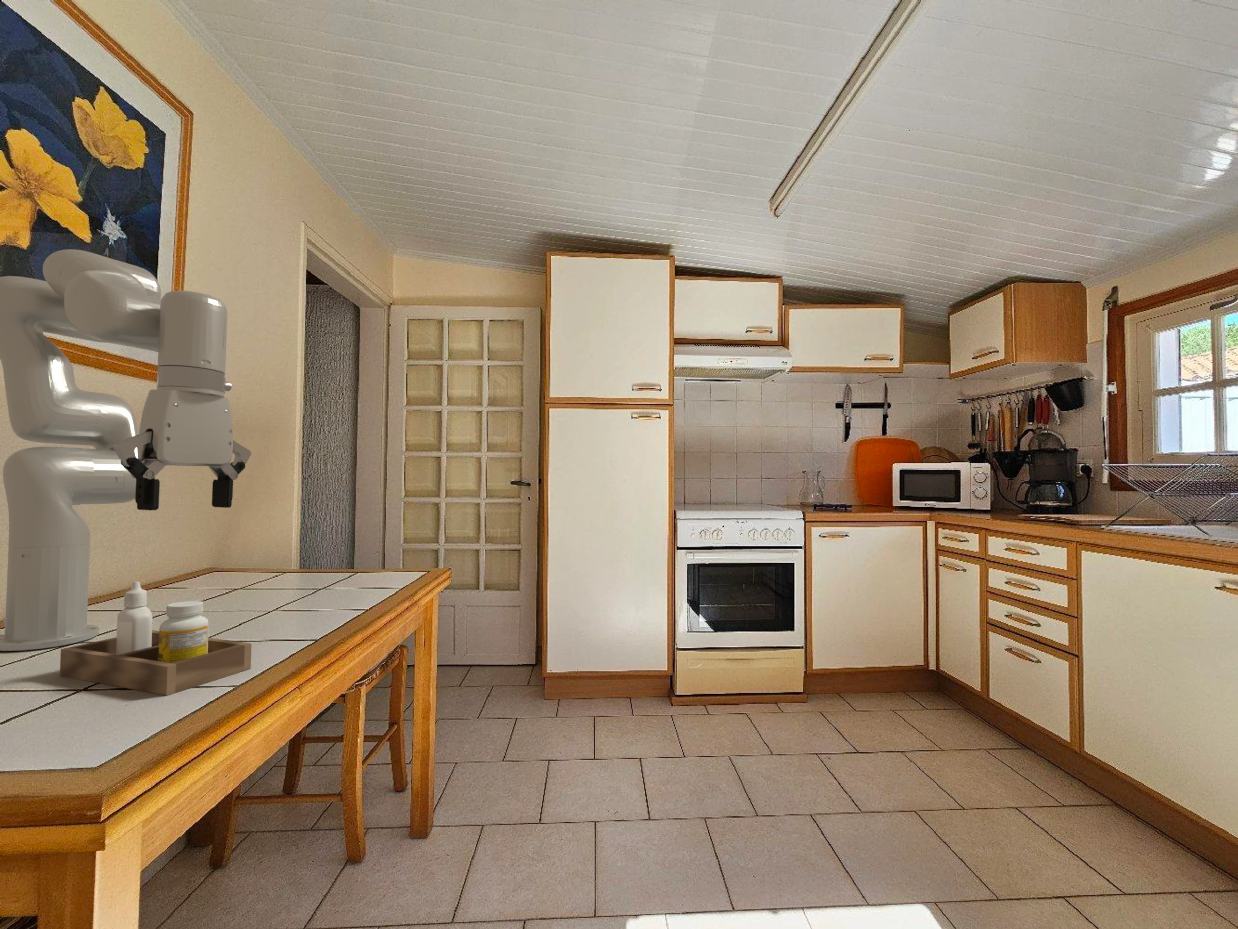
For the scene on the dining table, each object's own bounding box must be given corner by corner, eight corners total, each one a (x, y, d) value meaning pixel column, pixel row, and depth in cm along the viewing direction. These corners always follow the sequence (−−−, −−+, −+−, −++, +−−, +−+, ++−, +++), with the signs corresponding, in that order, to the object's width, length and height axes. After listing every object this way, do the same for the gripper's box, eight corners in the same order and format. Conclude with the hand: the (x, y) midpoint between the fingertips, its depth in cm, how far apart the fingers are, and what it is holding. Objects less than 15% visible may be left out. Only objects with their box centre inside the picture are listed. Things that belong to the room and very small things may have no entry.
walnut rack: (59, 675, 77) (60, 649, 77) (149, 653, 88) (150, 629, 88) (166, 695, 70) (167, 666, 70) (250, 668, 81) (251, 643, 81)
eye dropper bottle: (106, 676, 77) (110, 586, 78) (118, 664, 82) (121, 580, 82) (148, 671, 79) (151, 583, 80) (157, 660, 84) (160, 577, 85)
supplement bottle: (203, 678, 77) (205, 605, 77) (152, 684, 74) (155, 609, 74) (210, 667, 81) (212, 598, 82) (162, 672, 79) (164, 601, 79)
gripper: (233, 394, 89) (228, 505, 88) (100, 374, 73) (94, 510, 72) (268, 392, 86) (264, 507, 86) (139, 371, 70) (133, 512, 70)
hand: (186, 508), depth 79 cm, fingers open, 9 cm apart
